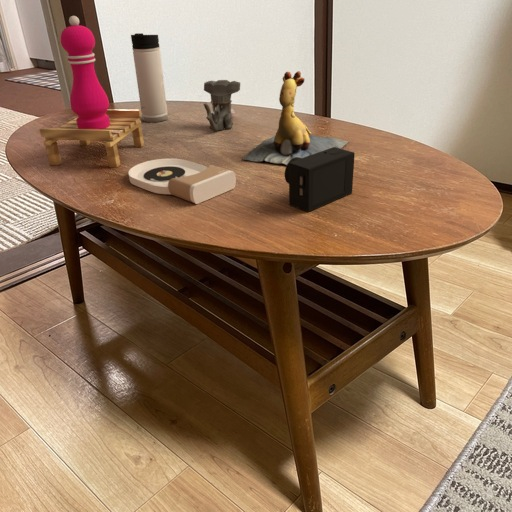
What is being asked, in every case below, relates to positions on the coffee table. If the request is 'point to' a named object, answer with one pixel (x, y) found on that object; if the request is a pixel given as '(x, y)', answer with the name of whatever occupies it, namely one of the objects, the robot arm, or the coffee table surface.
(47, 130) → the rack
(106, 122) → the pepper mill
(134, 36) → the travel mug
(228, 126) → the grey flared upright piece
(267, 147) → the stuffed giraffe
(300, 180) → the digital camera
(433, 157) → the coffee table surface
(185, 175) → the record player
